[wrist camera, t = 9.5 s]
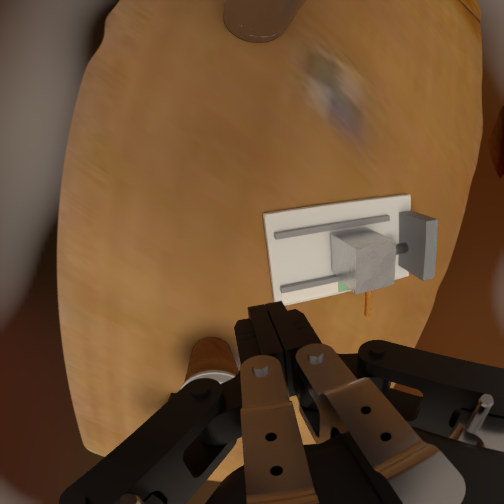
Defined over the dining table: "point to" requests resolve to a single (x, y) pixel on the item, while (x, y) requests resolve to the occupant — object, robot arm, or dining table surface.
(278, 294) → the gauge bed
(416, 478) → the robot arm
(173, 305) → the dining table surface
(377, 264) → the gauge carriage
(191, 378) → the disposable coffee cup
